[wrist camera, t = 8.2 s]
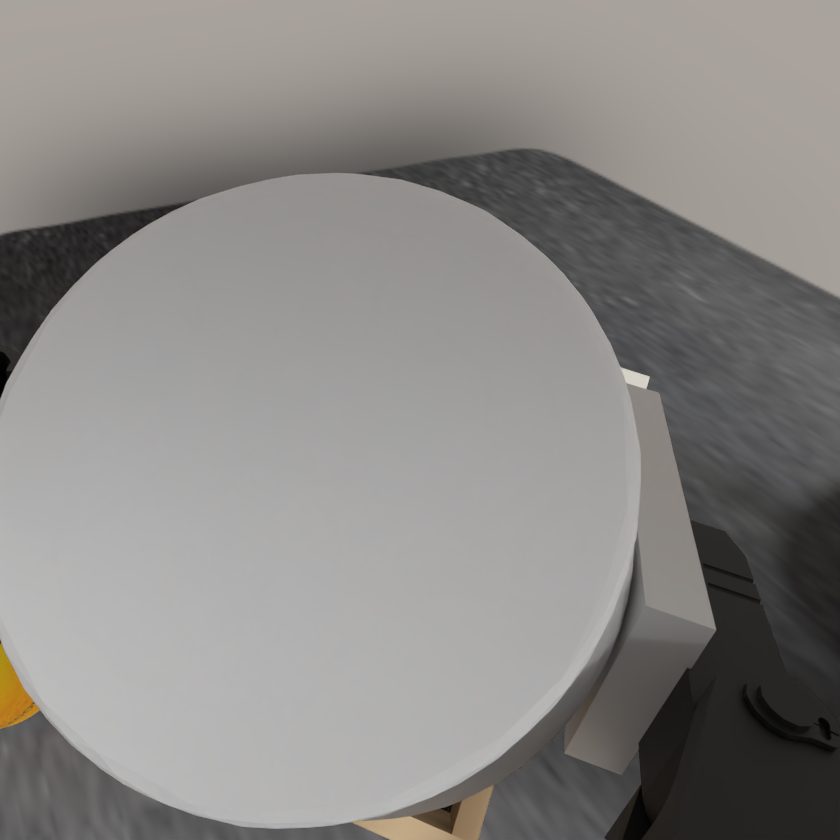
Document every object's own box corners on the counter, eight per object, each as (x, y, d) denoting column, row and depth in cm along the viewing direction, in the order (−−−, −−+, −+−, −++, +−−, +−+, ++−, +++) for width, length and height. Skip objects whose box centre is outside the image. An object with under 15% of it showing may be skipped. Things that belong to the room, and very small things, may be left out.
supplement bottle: (302, 442, 18) (-18, 53, 5) (529, 454, 17) (748, 70, 5) (270, 690, 16) (-365, 986, 3) (527, 709, 15) (885, 1118, 3)
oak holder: (547, 572, 28) (557, 569, 26) (464, 848, 25) (467, 873, 23) (315, 486, 30) (305, 476, 27) (209, 736, 27) (187, 749, 24)
